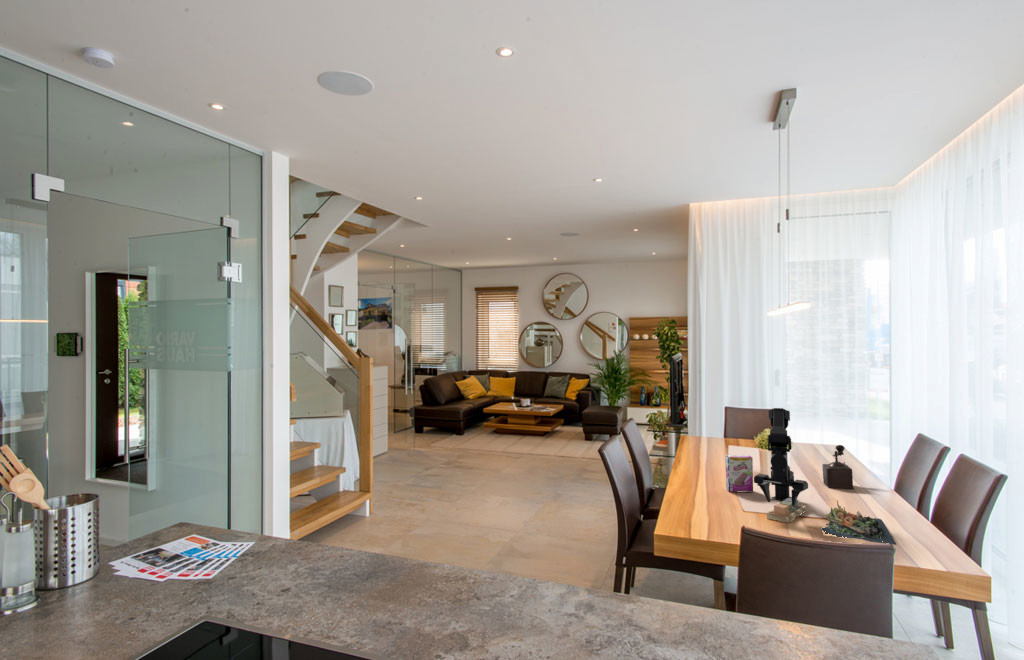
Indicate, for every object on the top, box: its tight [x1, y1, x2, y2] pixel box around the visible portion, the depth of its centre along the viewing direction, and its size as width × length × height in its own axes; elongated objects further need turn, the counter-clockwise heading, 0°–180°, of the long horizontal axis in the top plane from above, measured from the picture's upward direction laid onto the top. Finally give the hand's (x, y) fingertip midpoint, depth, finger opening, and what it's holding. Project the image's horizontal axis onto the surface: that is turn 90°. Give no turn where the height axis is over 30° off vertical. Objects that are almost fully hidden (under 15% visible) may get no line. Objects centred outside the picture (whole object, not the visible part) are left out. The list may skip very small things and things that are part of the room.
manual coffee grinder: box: [821, 444, 854, 490], centre depth 259 cm, size 16×11×18 cm
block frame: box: [766, 498, 807, 524], centre depth 217 cm, size 19×8×5 cm, turn 133°
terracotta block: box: [773, 503, 789, 516], centre depth 213 cm, size 4×4×4 cm
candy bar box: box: [724, 454, 754, 493], centre depth 252 cm, size 11×5×16 cm, turn 84°
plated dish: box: [820, 500, 897, 546], centre depth 201 cm, size 35×28×7 cm
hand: (781, 503), depth 213 cm, fingers open, 9 cm apart
